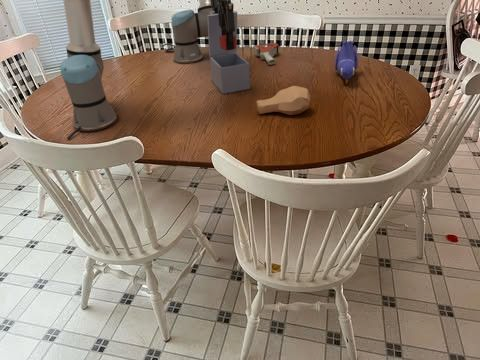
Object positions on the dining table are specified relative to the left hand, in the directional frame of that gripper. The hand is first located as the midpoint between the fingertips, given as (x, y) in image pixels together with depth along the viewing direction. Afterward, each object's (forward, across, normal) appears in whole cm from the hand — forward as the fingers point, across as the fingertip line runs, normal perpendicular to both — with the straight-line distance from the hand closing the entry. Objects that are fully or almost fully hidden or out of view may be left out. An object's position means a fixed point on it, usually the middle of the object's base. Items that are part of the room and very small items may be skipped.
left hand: (228, 47), depth 143 cm
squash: (+17, -31, -10) cm, 37 cm away
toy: (+18, -12, -49) cm, 53 cm away
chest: (+17, +4, -1) cm, 18 cm away
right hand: (-5, +16, -1) cm, 17 cm away
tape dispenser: (+18, +30, -29) cm, 46 cm away
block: (0, 0, 0) cm, 0 cm away
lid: (-3, +10, -1) cm, 10 cm away
